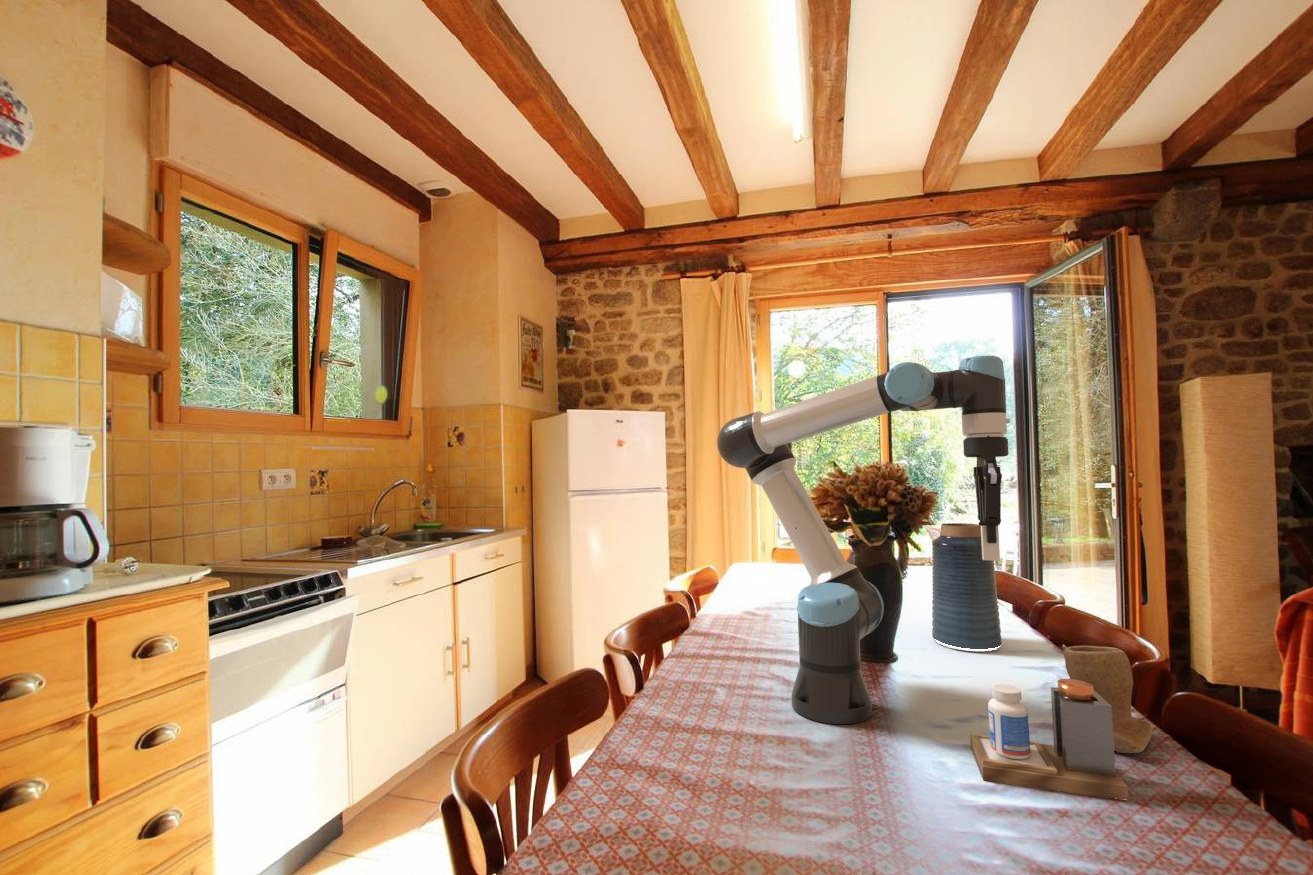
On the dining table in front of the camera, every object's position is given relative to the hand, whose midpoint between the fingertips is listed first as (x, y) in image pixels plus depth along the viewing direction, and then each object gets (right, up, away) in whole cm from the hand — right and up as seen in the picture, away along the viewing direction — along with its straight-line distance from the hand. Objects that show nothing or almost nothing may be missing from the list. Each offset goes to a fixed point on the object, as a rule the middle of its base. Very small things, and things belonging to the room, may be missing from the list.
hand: (991, 559), depth 110 cm
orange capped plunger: (0, -26, -23) cm, 34 cm away
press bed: (-4, -28, -21) cm, 36 cm away
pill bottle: (-8, -26, -19) cm, 34 cm away
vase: (+19, -32, +44) cm, 57 cm away
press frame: (+1, -26, -23) cm, 35 cm away
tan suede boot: (+15, -29, -10) cm, 34 cm away
